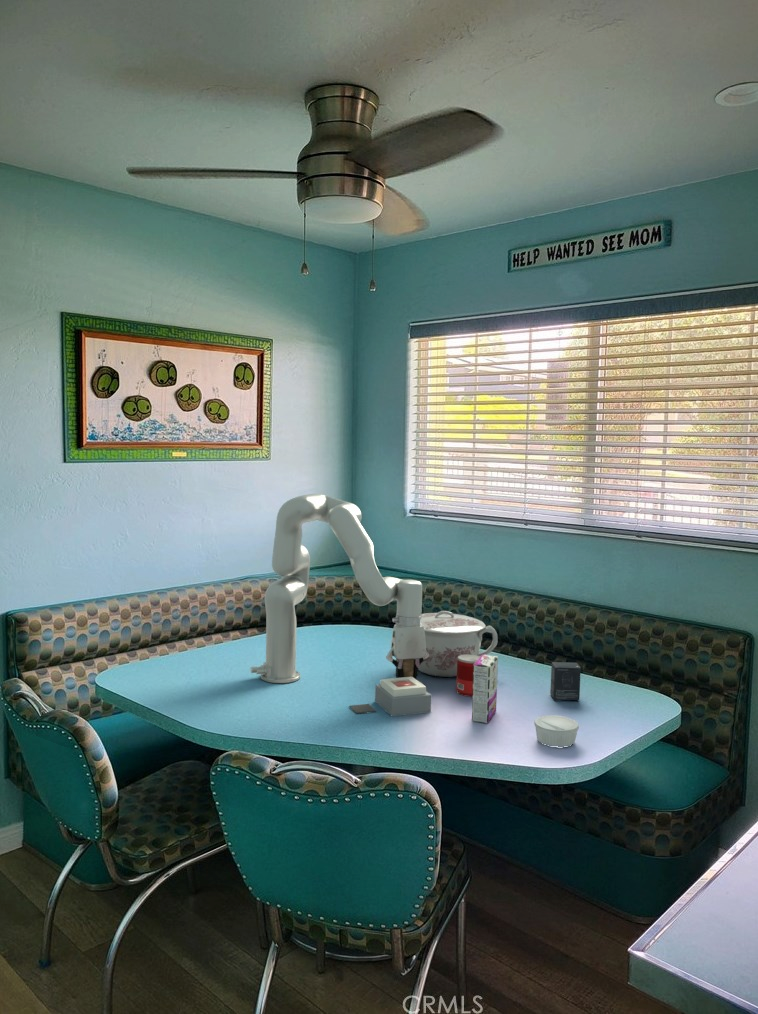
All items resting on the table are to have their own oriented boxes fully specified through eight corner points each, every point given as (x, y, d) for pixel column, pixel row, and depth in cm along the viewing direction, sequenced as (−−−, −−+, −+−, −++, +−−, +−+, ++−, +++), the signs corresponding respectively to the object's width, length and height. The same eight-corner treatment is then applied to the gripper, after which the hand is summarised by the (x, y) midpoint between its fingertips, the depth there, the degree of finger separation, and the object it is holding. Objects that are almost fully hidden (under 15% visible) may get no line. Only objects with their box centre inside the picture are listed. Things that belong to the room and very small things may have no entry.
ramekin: (530, 746, 201) (531, 726, 200) (537, 731, 211) (538, 712, 211) (574, 753, 197) (575, 733, 196) (580, 738, 207) (581, 718, 207)
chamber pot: (384, 669, 263) (386, 608, 262) (439, 655, 282) (441, 598, 281) (447, 690, 243) (450, 624, 242) (501, 673, 262) (504, 613, 261)
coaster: (356, 714, 220) (356, 712, 220) (349, 707, 225) (349, 705, 225) (376, 711, 222) (376, 710, 222) (368, 705, 227) (368, 703, 227)
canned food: (481, 697, 237) (482, 662, 236) (454, 695, 239) (456, 659, 238) (482, 689, 245) (484, 655, 244) (457, 687, 246) (458, 653, 245)
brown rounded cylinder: (402, 695, 237) (404, 650, 236) (397, 691, 241) (399, 646, 239) (414, 694, 238) (416, 649, 237) (409, 690, 242) (411, 645, 241)
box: (575, 695, 242) (576, 662, 241) (579, 701, 237) (581, 667, 236) (549, 694, 242) (551, 661, 241) (553, 700, 237) (555, 666, 236)
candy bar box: (479, 709, 227) (481, 653, 226) (496, 711, 225) (499, 655, 224) (470, 721, 217) (472, 663, 215) (488, 724, 215) (490, 666, 214)
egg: (398, 698, 224) (398, 686, 223) (391, 693, 228) (392, 681, 228) (413, 697, 225) (414, 685, 225) (407, 692, 230) (407, 680, 230)
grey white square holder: (391, 716, 219) (392, 691, 218) (375, 701, 231) (375, 678, 230) (430, 712, 223) (431, 688, 223) (412, 697, 235) (412, 674, 235)
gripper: (387, 625, 231) (385, 685, 232) (439, 622, 237) (436, 681, 239) (378, 619, 238) (376, 678, 239) (428, 616, 244) (426, 673, 246)
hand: (406, 679), depth 239 cm, fingers closed on brown rounded cylinder, 4 cm apart
